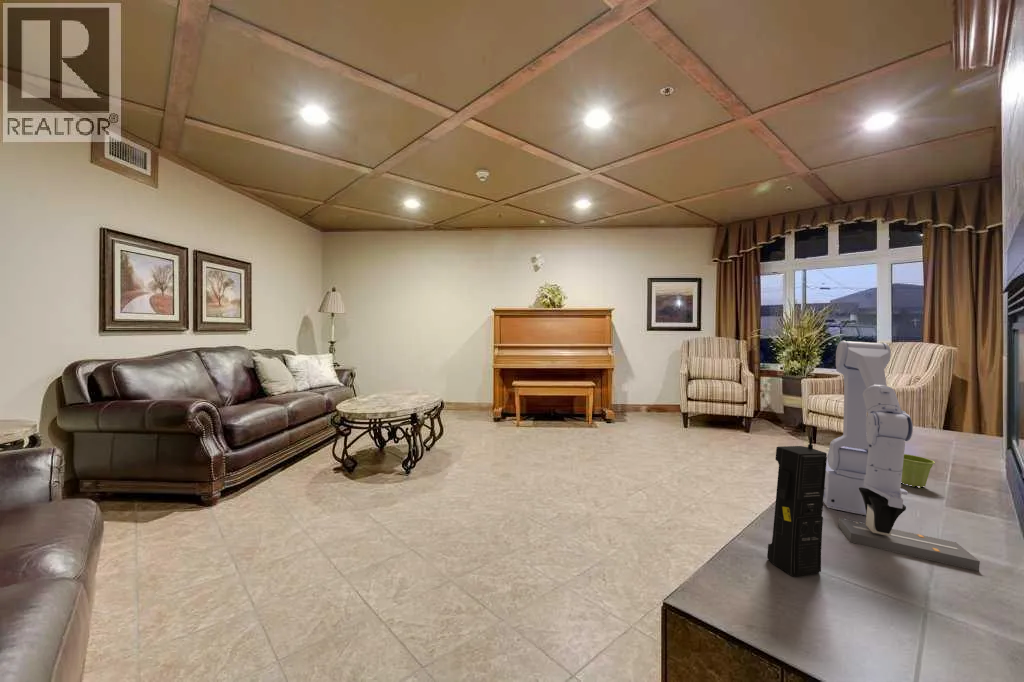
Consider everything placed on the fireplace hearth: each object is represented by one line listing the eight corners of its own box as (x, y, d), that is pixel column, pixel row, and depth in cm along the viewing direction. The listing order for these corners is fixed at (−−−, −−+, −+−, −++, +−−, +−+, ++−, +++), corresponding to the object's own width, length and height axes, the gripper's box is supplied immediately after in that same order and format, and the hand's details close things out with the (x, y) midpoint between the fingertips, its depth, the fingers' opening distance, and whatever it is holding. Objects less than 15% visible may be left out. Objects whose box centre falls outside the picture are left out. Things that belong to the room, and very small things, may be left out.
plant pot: (883, 479, 129) (885, 453, 128) (902, 478, 132) (904, 452, 131) (920, 491, 120) (923, 463, 119) (939, 489, 123) (942, 462, 122)
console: (850, 541, 86) (851, 532, 86) (838, 526, 94) (839, 517, 94) (978, 571, 78) (979, 560, 78) (955, 551, 85) (956, 541, 85)
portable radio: (790, 579, 71) (803, 443, 70) (761, 560, 77) (772, 433, 76) (823, 575, 73) (835, 442, 72) (792, 556, 79) (803, 433, 78)
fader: (872, 532, 86) (874, 511, 86) (865, 524, 90) (867, 503, 90) (890, 536, 85) (893, 514, 85) (882, 528, 89) (884, 507, 89)
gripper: (925, 481, 79) (918, 548, 79) (893, 461, 92) (887, 518, 92) (879, 474, 82) (873, 538, 82) (854, 455, 95) (849, 510, 95)
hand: (878, 527), depth 87 cm, fingers closed on fader, 4 cm apart
